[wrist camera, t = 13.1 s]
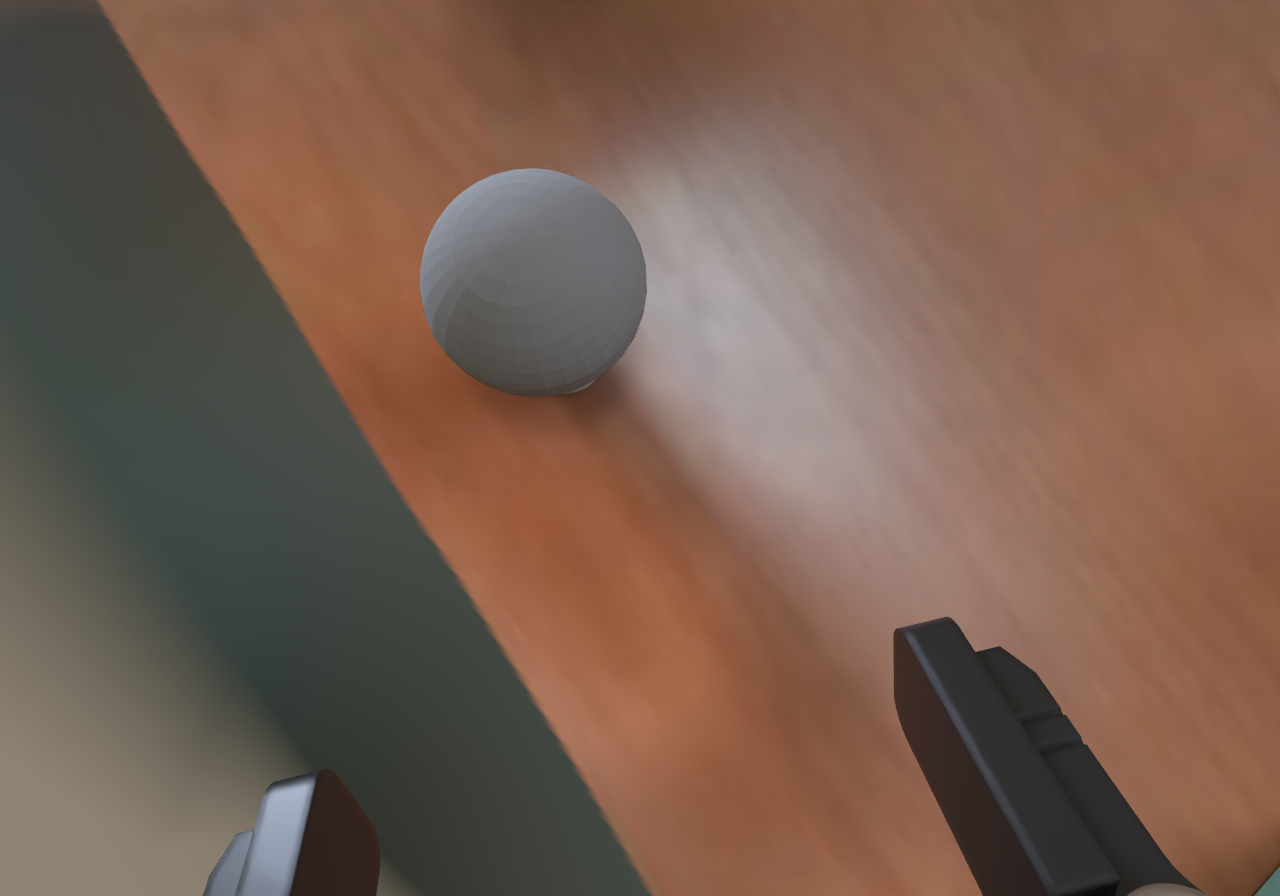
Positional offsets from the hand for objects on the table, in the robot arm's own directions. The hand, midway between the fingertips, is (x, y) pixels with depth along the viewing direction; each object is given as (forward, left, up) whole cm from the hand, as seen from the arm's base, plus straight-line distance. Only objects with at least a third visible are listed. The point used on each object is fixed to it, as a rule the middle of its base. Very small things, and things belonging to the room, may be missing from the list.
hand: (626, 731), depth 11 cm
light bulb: (+5, +9, -15) cm, 19 cm away
